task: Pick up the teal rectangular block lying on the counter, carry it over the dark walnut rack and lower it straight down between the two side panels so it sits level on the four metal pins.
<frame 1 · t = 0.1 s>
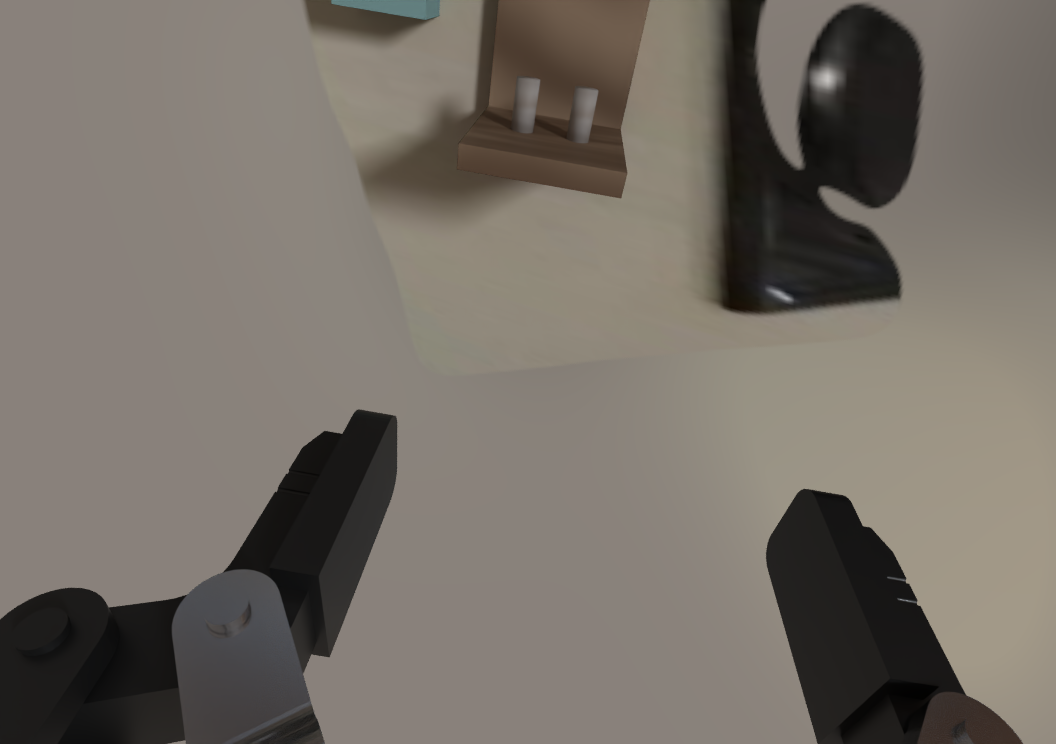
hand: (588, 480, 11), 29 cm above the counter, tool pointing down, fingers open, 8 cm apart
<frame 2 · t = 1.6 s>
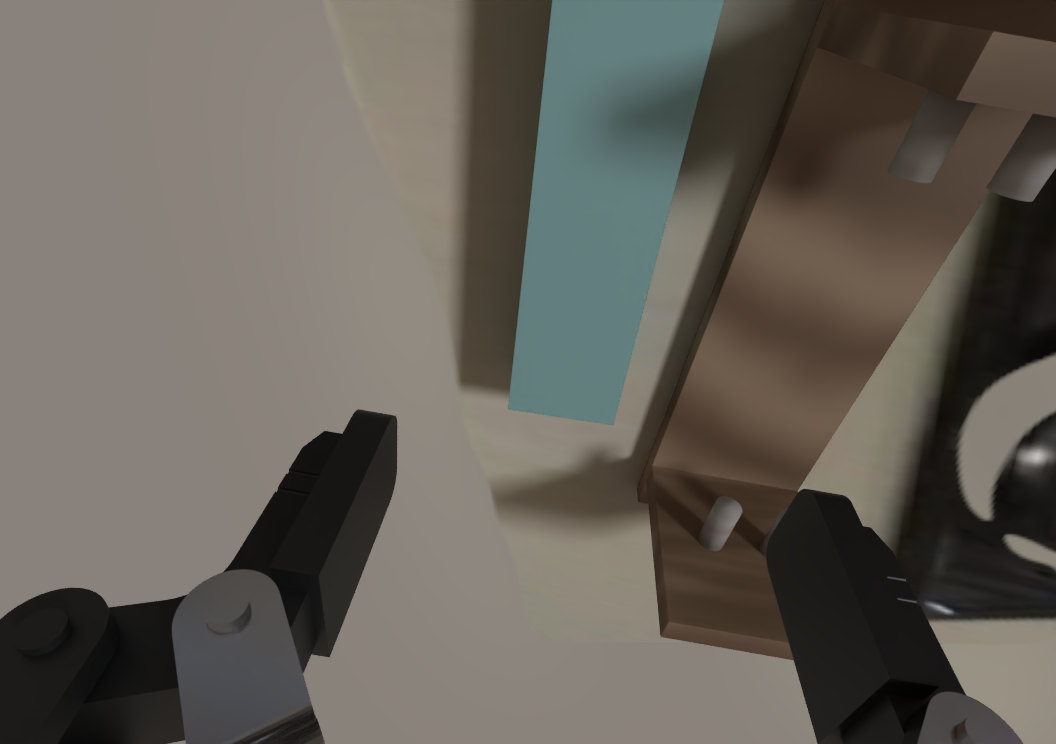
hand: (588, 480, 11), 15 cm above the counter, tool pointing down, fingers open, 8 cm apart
rack: (798, 311, 25), on the counter
teal rectangular block: (594, 205, 24), on the counter
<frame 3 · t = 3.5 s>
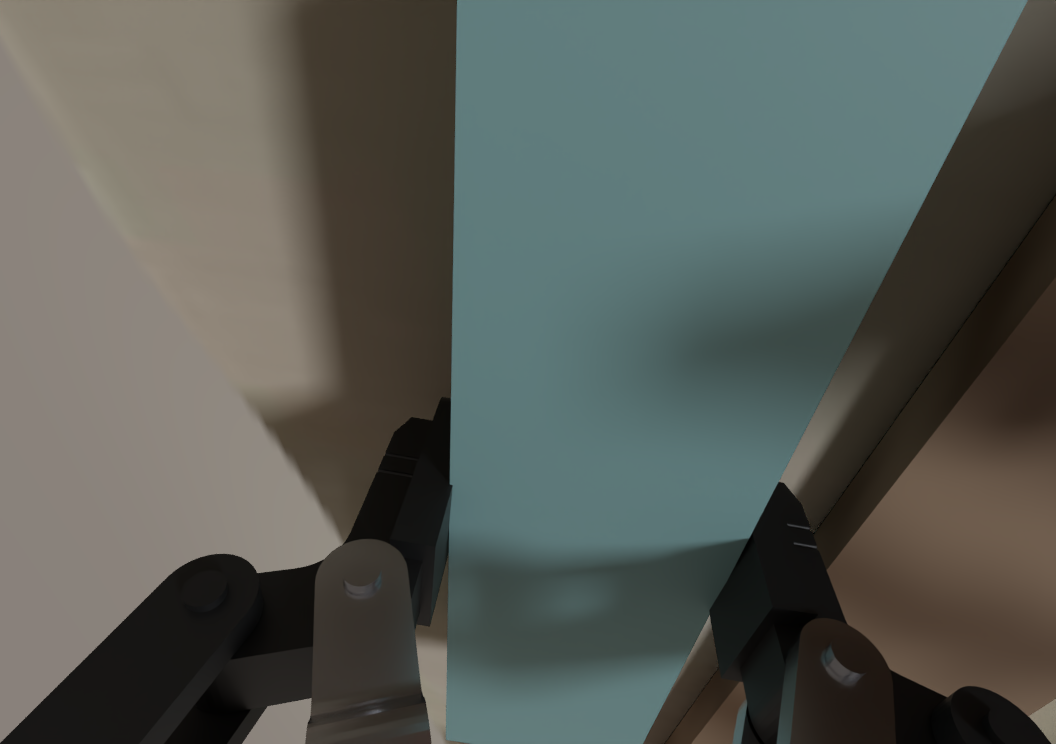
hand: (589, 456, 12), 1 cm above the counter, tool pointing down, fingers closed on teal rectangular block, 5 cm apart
rack: (957, 577, 14), on the counter
teal rectangular block: (592, 416, 13), on the counter, touching gripper
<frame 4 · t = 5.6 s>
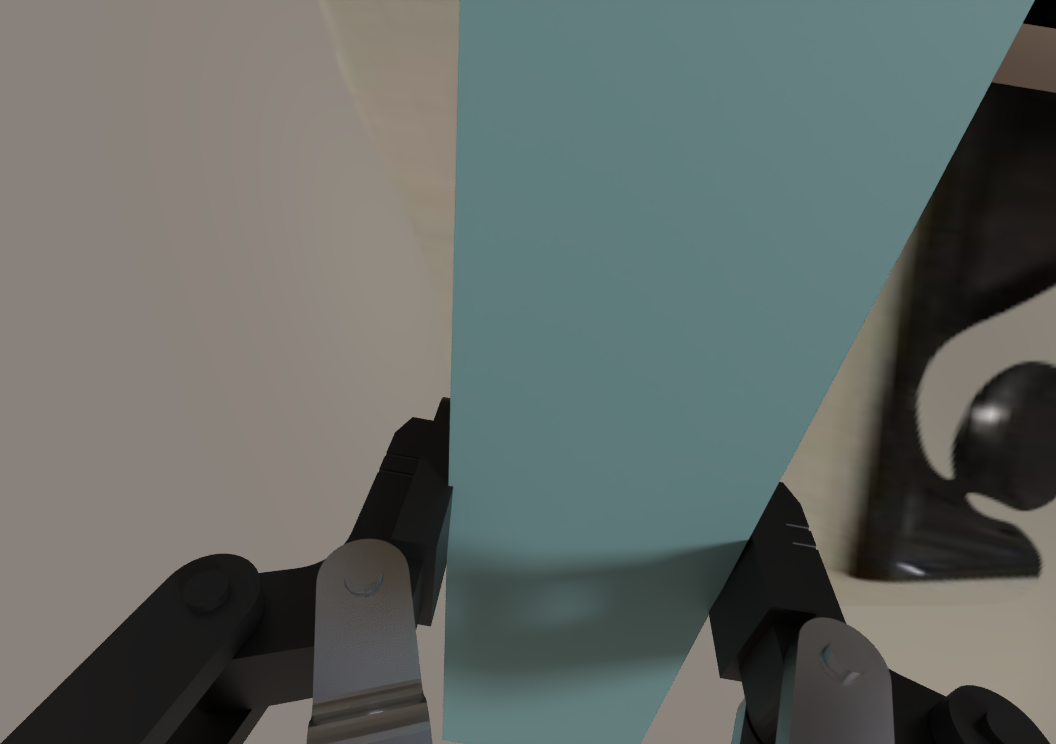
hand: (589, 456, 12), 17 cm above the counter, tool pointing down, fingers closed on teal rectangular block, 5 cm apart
rack: (759, 277, 27), on the counter
teal rectangular block: (591, 417, 13), point 16 cm above the counter, touching gripper
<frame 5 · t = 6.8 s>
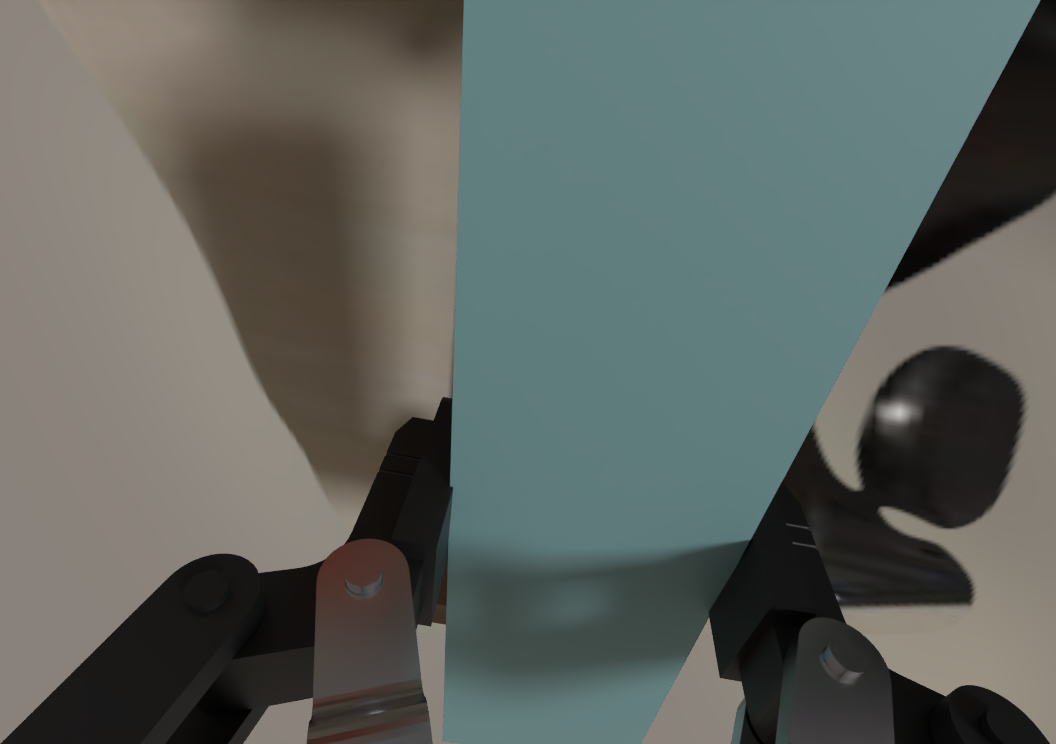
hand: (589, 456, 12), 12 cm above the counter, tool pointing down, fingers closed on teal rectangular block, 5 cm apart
rack: (593, 234, 21), on the counter
teal rectangular block: (592, 418, 13), point 11 cm above the counter, touching gripper
when the fingers open (8 cm above the counter, at t = 8.0 s): teal rectangular block drops 1 cm, resting on rack.
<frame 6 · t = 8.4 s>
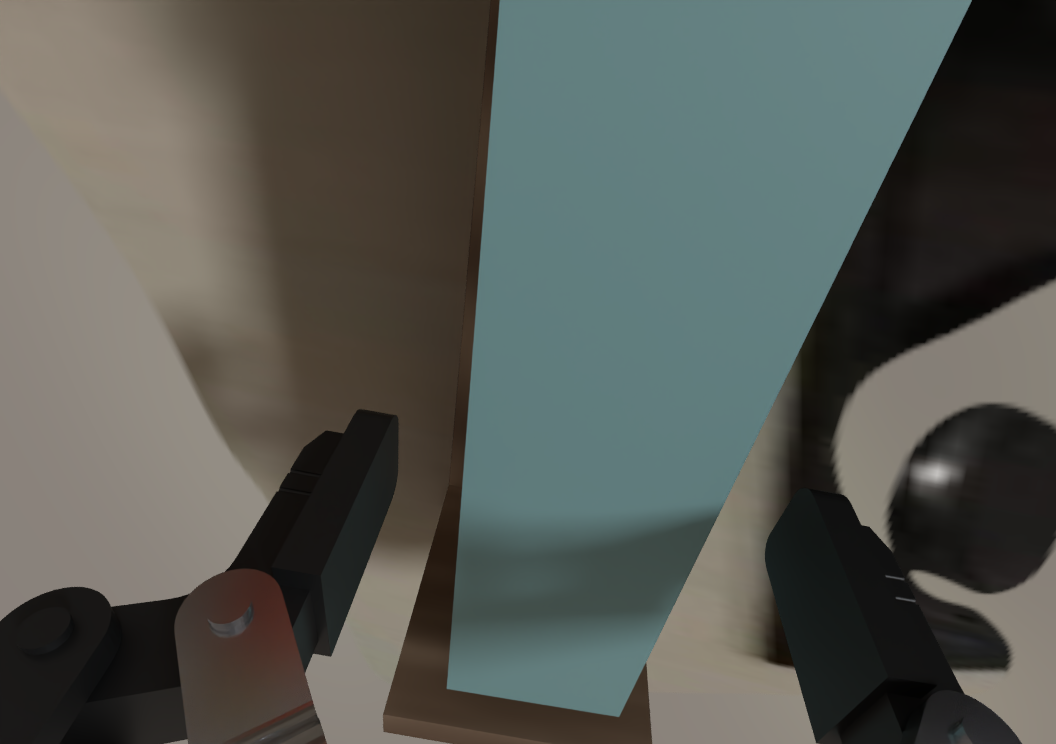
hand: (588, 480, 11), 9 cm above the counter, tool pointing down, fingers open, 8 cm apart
rack: (591, 278, 19), on the counter
teal rectangular block: (592, 382, 14), point 6 cm above the counter, touching rack
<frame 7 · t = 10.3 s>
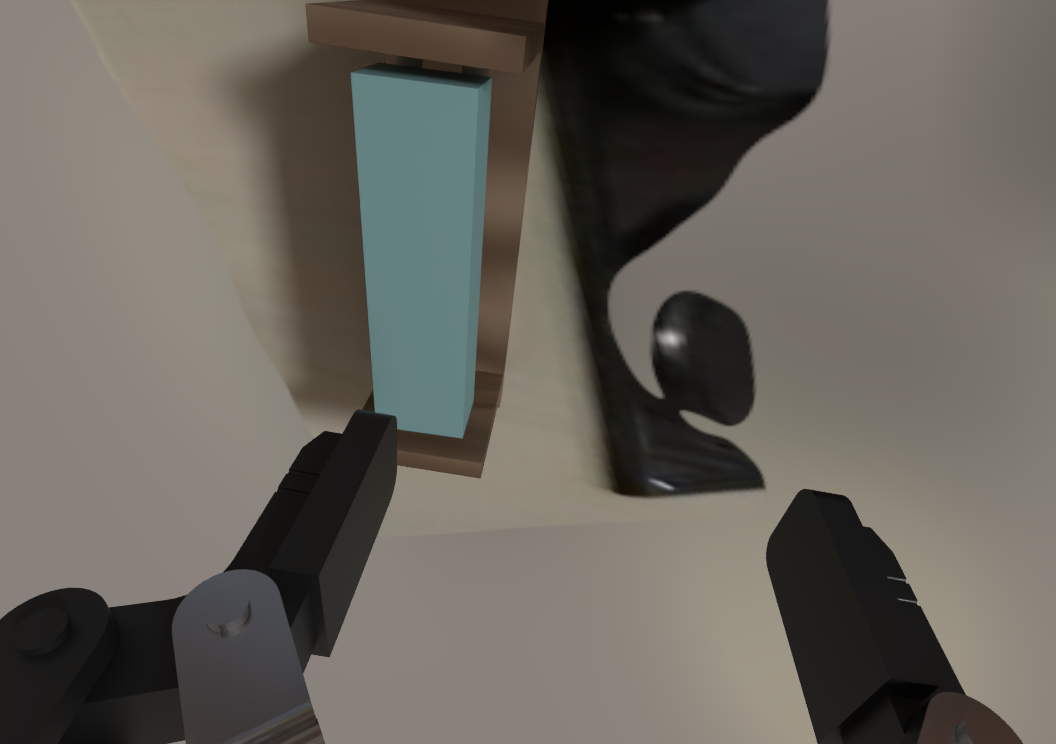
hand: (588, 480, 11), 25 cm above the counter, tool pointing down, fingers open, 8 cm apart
rack: (456, 224, 35), on the counter
teal rectangular block: (434, 260, 30), point 6 cm above the counter, touching rack
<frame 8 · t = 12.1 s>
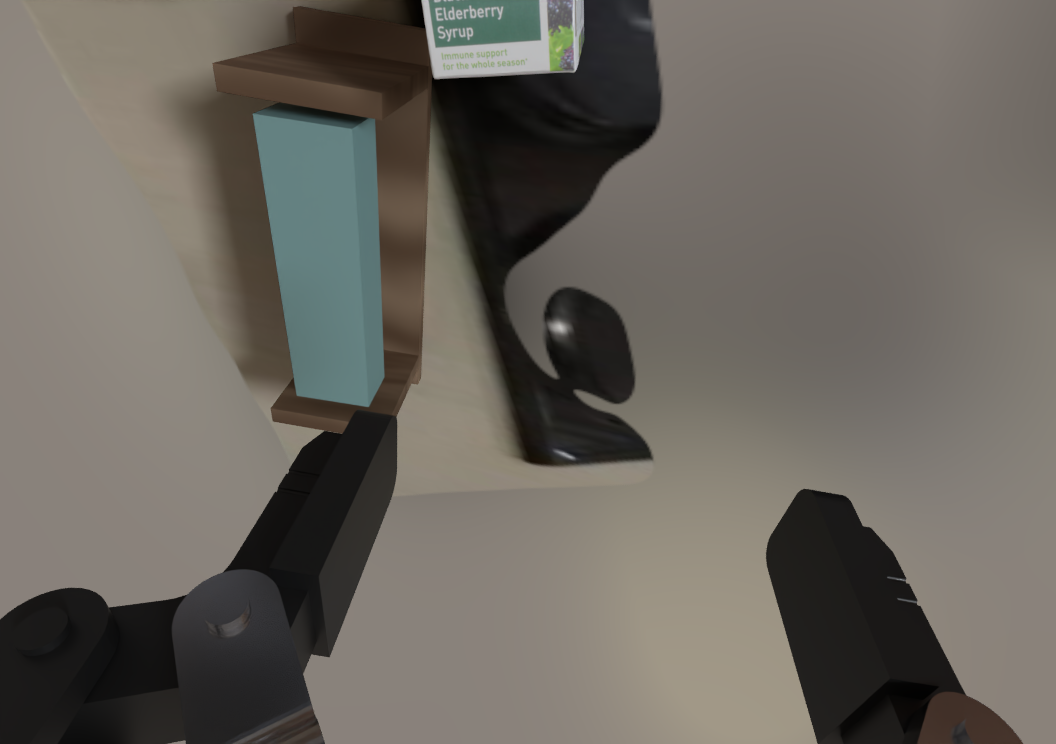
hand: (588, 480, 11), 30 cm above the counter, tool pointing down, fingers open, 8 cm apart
rack: (371, 226, 41), on the counter
teal rectangular block: (341, 259, 36), point 6 cm above the counter, touching rack
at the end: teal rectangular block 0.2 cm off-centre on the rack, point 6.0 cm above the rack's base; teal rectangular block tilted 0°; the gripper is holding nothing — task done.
